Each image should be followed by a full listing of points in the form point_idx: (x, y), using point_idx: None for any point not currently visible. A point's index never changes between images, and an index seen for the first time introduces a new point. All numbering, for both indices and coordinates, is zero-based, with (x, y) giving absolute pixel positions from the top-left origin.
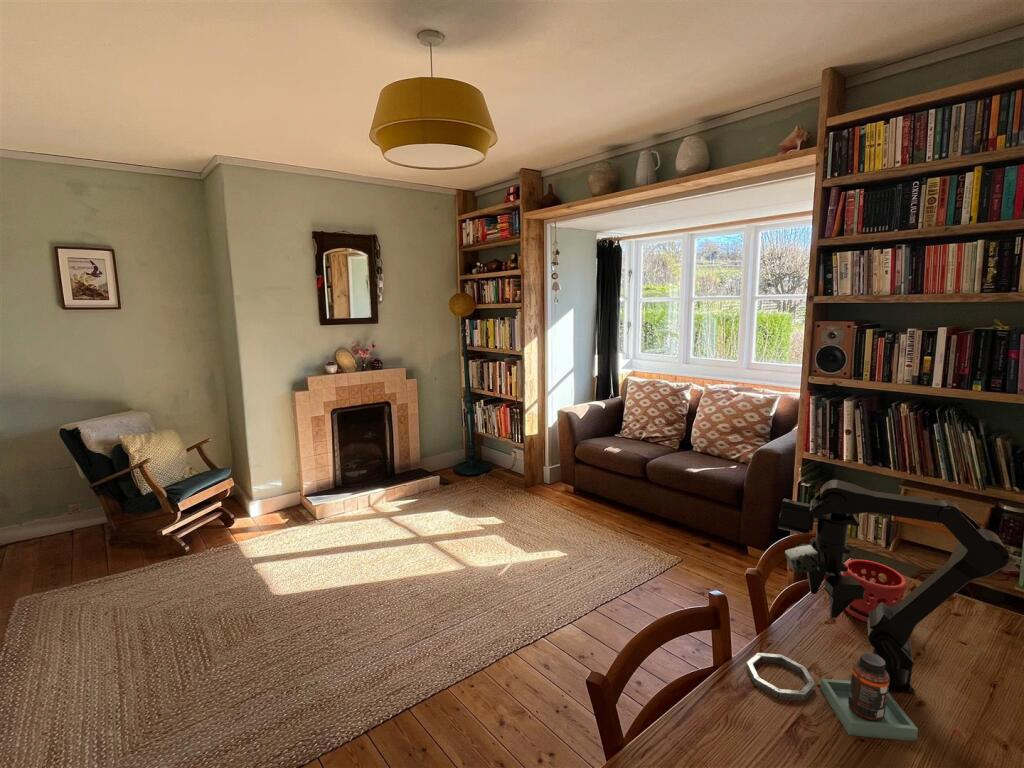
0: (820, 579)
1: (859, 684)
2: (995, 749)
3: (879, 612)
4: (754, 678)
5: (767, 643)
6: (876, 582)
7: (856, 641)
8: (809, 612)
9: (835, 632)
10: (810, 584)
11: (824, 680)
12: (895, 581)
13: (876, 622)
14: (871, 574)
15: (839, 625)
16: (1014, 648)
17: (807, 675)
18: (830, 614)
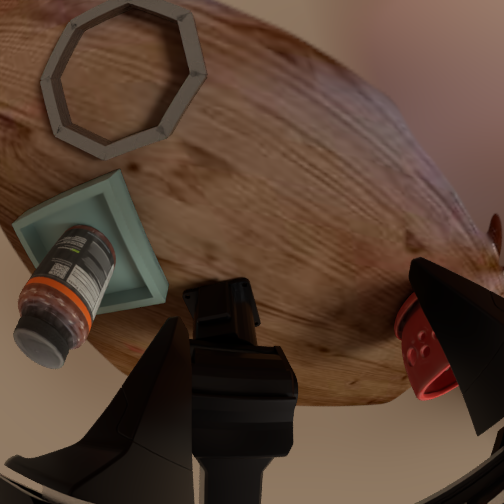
0: (452, 351)
1: (30, 277)
2: (130, 369)
3: (241, 440)
4: (71, 20)
5: (289, 52)
6: None
7: (349, 278)
8: (439, 208)
9: (377, 245)
10: (448, 285)
11: (104, 186)
12: (444, 375)
13: (199, 419)
14: None
15: (399, 257)
16: (344, 405)
17: (129, 142)
18: (173, 324)
